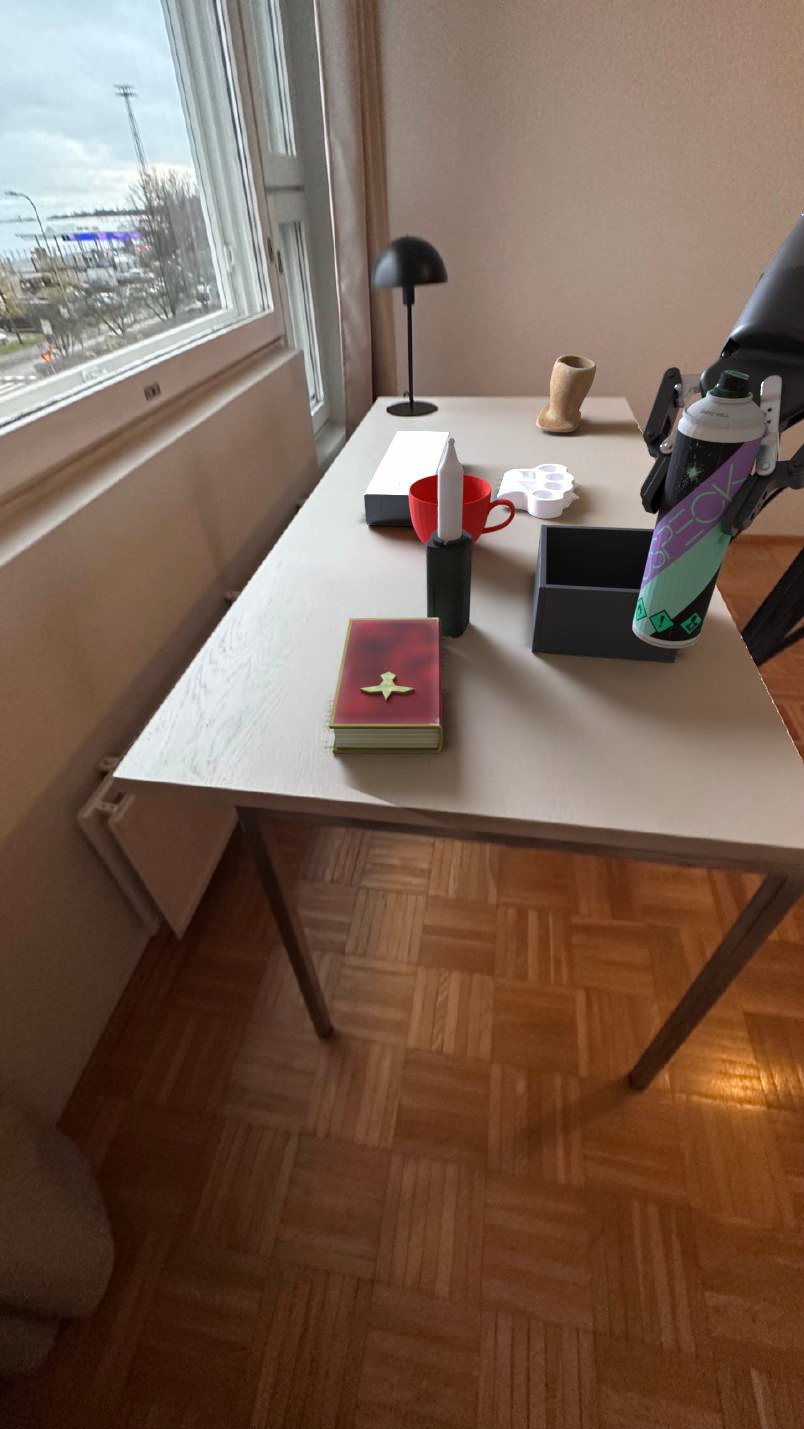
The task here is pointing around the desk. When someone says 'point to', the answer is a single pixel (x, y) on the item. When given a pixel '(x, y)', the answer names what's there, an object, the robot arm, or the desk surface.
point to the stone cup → (567, 393)
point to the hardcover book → (390, 687)
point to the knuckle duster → (539, 490)
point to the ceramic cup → (473, 507)
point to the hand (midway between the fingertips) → (686, 518)
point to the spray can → (697, 511)
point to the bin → (591, 593)
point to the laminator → (403, 475)
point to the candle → (449, 553)
